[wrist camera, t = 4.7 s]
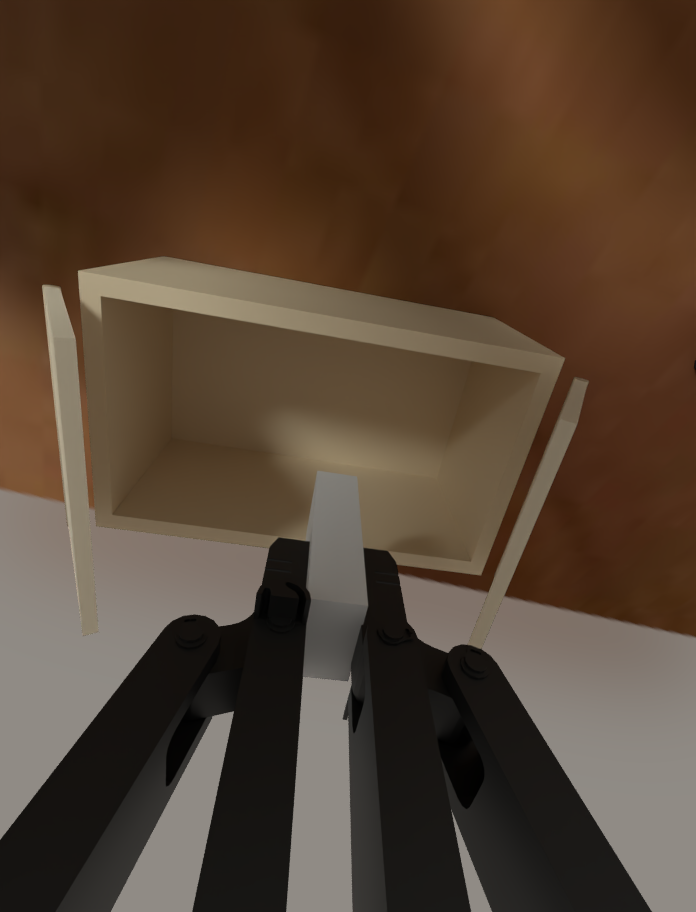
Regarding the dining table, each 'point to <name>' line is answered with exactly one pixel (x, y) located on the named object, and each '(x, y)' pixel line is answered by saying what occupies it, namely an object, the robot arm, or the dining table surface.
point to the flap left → (71, 449)
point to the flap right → (531, 507)
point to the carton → (302, 409)
